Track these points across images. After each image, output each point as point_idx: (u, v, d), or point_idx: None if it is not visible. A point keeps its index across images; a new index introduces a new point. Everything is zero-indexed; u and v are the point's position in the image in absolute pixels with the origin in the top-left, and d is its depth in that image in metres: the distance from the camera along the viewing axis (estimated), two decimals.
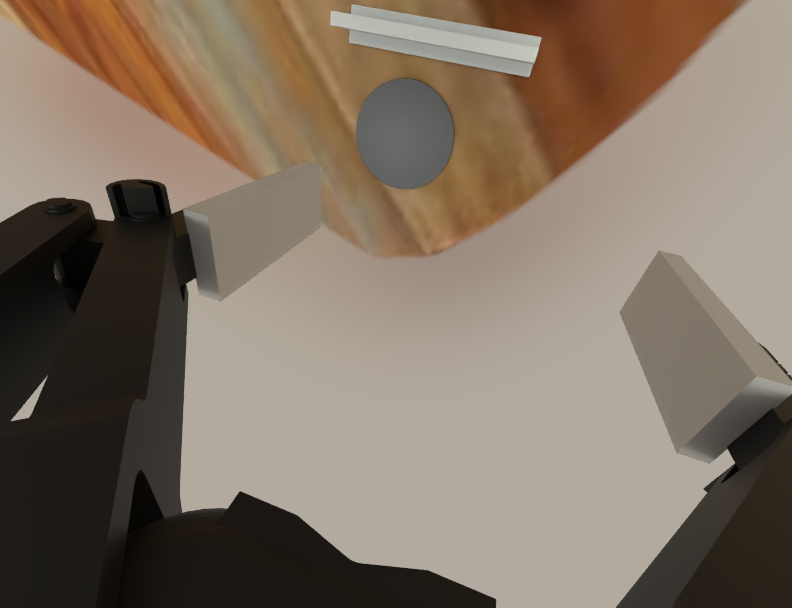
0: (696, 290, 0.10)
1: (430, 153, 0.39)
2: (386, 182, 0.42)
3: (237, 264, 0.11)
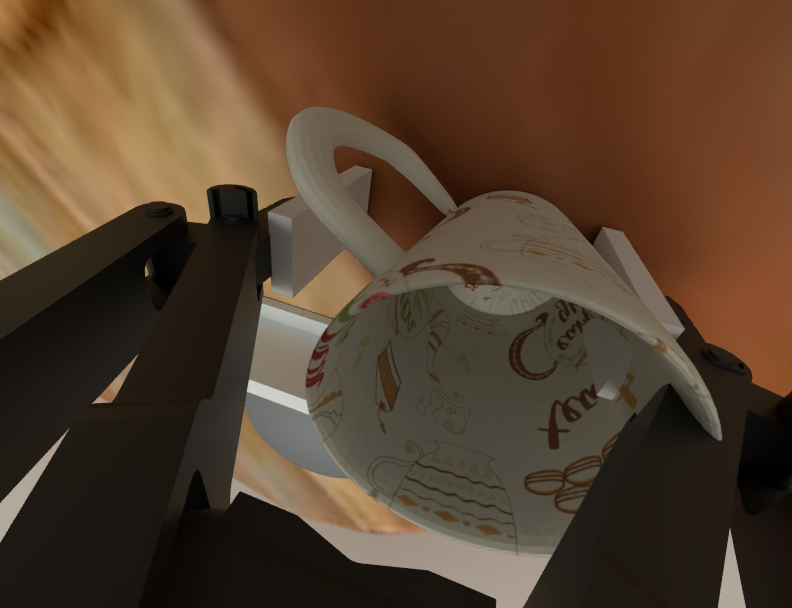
0: (624, 257, 0.11)
1: None
2: (296, 463, 0.29)
3: (307, 263, 0.12)
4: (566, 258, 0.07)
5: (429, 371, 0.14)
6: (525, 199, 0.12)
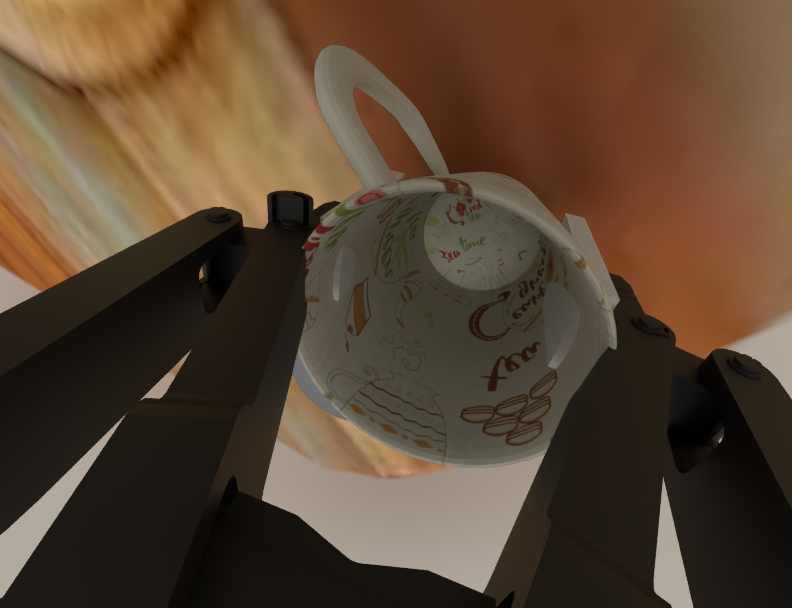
0: (579, 239, 0.12)
1: None
2: (329, 411, 0.35)
3: (351, 267, 0.12)
4: (528, 198, 0.08)
5: (397, 316, 0.15)
6: (509, 178, 0.14)
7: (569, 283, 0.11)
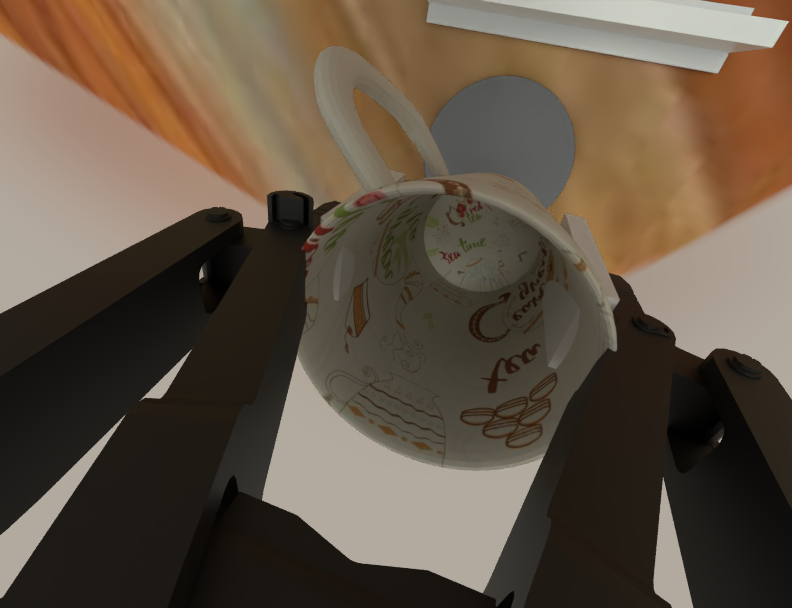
0: (579, 239, 0.12)
1: (533, 183, 0.27)
2: None
3: (351, 267, 0.12)
4: (528, 200, 0.08)
5: (396, 318, 0.15)
6: (509, 179, 0.14)
7: (569, 285, 0.11)
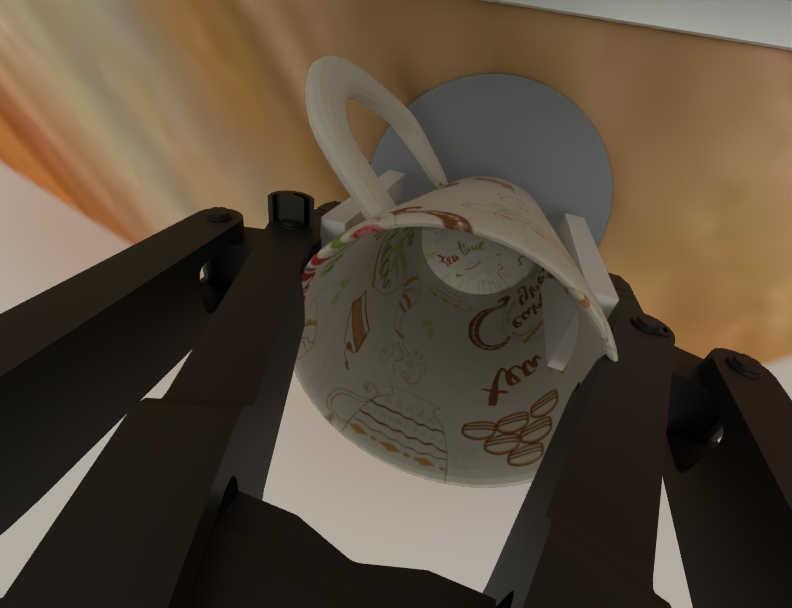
0: (579, 239, 0.12)
1: None
2: None
3: None
4: (530, 227, 0.08)
5: (396, 328, 0.15)
6: (509, 186, 0.13)
7: None
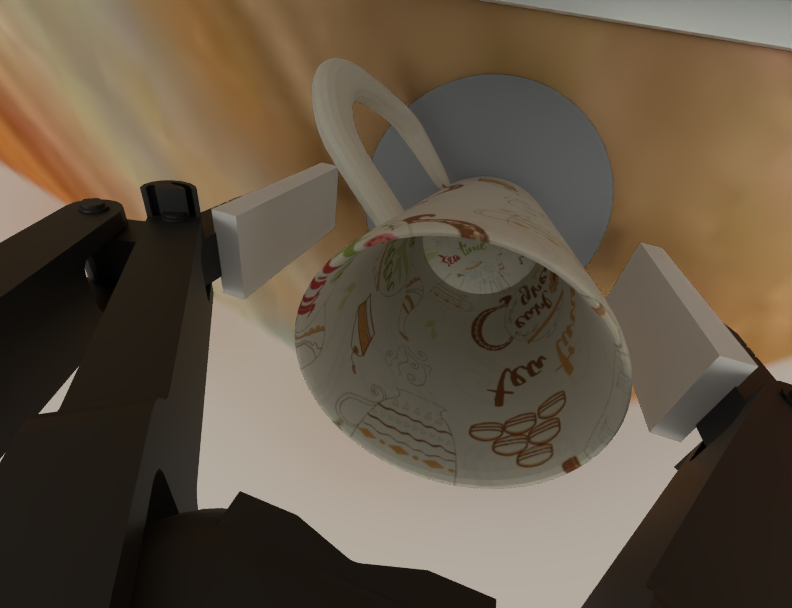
0: (672, 278, 0.11)
1: None
2: None
3: (260, 263, 0.11)
4: (542, 234, 0.08)
5: (400, 329, 0.15)
6: (512, 187, 0.13)
7: (577, 304, 0.11)
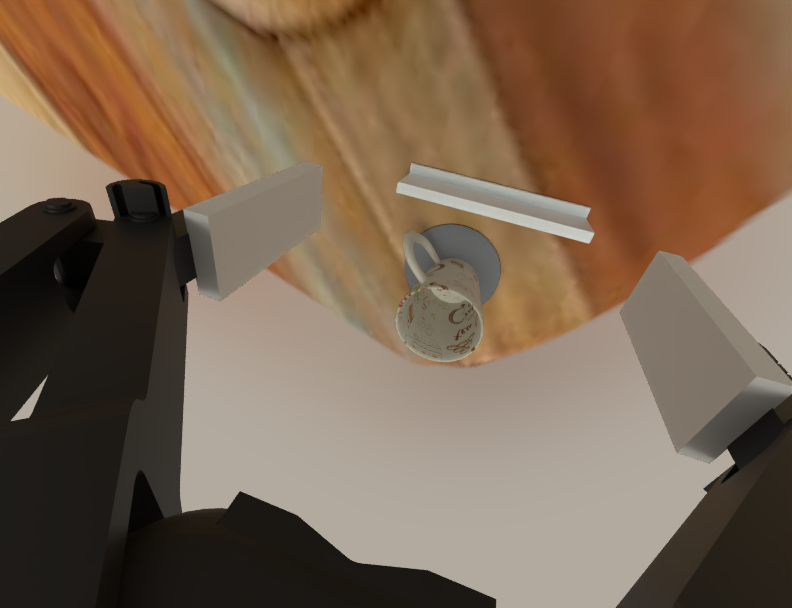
0: (696, 290, 0.10)
1: None
2: None
3: (237, 264, 0.11)
4: (462, 287, 0.33)
5: (421, 316, 0.39)
6: (462, 265, 0.38)
7: None
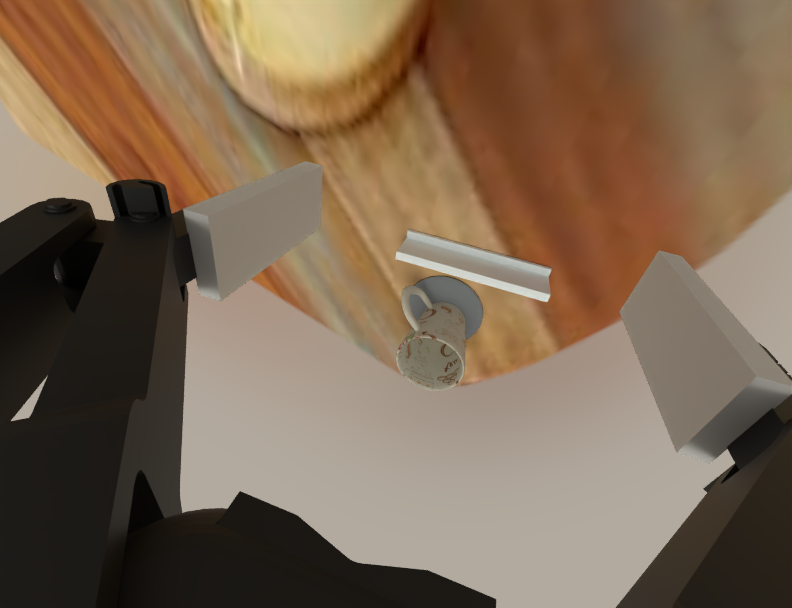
0: (696, 290, 0.10)
1: None
2: None
3: (237, 264, 0.11)
4: (448, 335, 0.42)
5: (418, 350, 0.49)
6: (450, 310, 0.47)
7: None
